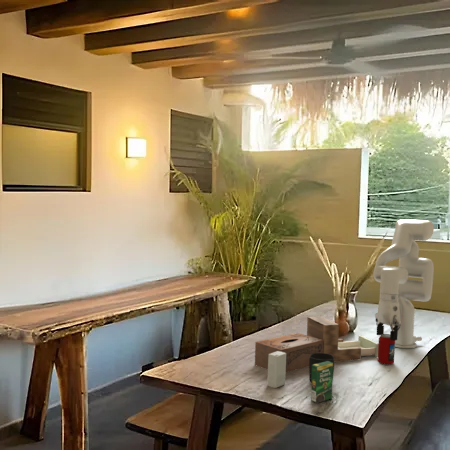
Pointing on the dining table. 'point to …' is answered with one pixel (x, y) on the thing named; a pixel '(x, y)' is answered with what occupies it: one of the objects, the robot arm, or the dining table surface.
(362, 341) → the tray
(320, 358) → the pen holder
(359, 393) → the dining table surface
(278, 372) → the skincare box
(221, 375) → the dining table surface
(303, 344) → the tissue box cover
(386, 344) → the beverage can
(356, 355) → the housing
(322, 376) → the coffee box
